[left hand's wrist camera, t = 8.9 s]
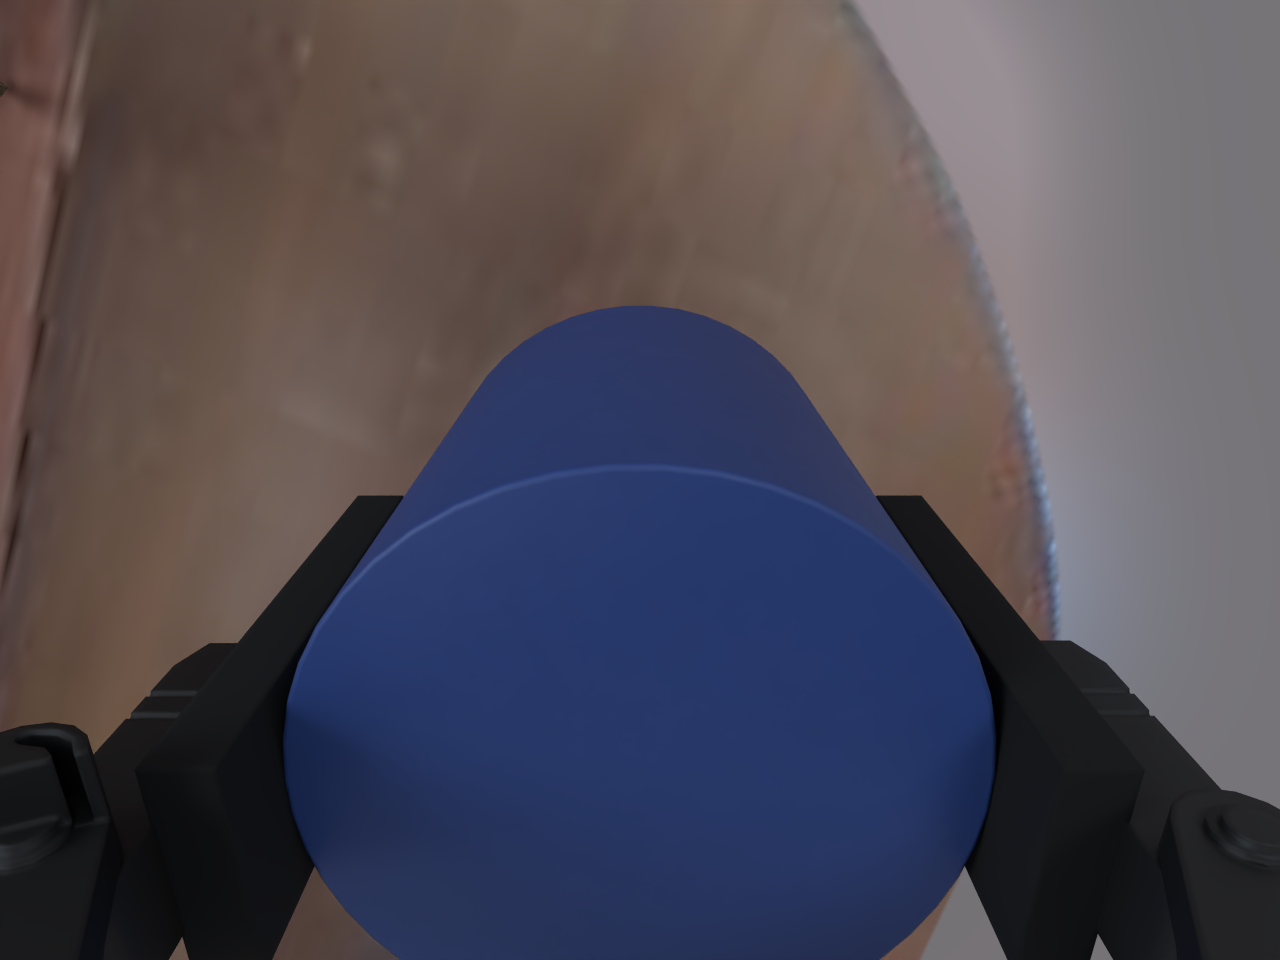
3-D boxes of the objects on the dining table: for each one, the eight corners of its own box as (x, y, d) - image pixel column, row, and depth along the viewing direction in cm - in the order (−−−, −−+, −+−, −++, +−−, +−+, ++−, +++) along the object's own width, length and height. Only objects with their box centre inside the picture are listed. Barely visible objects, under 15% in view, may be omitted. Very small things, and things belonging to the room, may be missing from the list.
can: (539, 232, 15) (428, 322, 7) (903, 410, 16) (1152, 655, 8) (396, 574, 18) (199, 917, 10) (719, 704, 19) (777, 1101, 11)
